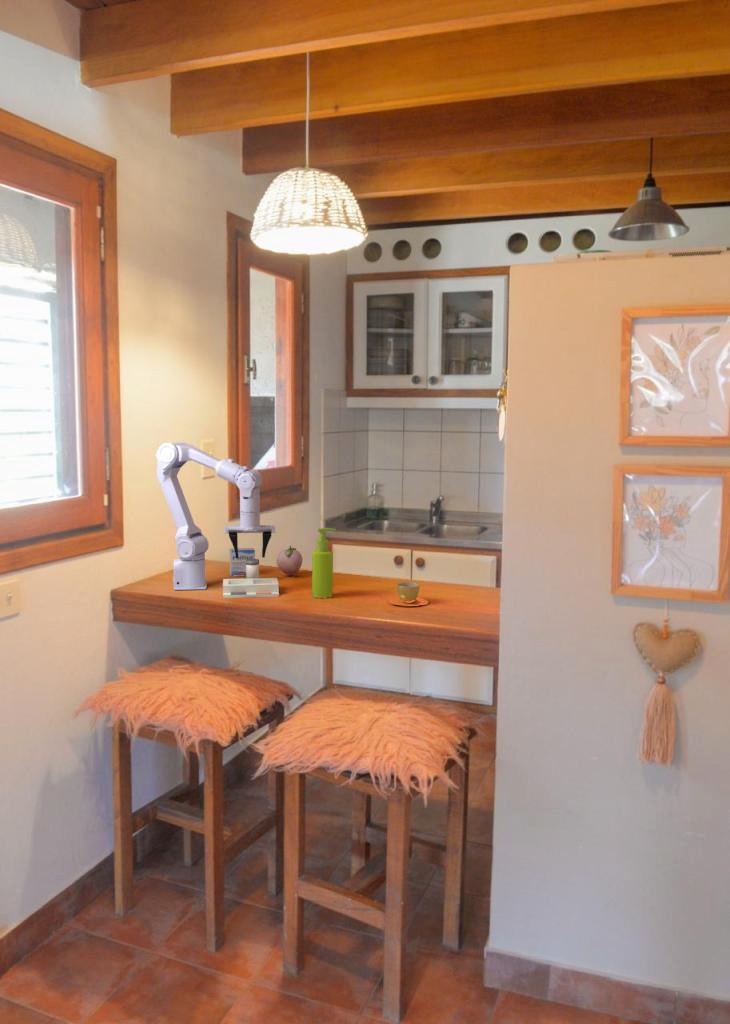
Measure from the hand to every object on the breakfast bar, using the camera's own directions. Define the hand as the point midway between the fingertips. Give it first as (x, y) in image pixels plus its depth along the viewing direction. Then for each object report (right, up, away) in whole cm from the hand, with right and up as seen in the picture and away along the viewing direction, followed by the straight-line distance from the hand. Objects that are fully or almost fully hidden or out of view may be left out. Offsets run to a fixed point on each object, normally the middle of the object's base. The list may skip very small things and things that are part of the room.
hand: (250, 557), depth 231 cm
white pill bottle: (-1, -9, +14) cm, 17 cm away
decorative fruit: (+9, -8, +23) cm, 26 cm away
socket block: (0, -10, 0) cm, 10 cm away
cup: (+46, -13, -9) cm, 49 cm away
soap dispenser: (+22, -11, -3) cm, 25 cm away
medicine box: (-6, -7, +24) cm, 26 cm away
